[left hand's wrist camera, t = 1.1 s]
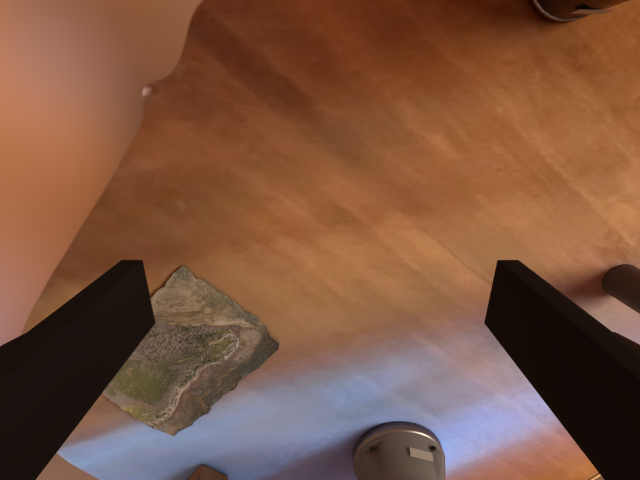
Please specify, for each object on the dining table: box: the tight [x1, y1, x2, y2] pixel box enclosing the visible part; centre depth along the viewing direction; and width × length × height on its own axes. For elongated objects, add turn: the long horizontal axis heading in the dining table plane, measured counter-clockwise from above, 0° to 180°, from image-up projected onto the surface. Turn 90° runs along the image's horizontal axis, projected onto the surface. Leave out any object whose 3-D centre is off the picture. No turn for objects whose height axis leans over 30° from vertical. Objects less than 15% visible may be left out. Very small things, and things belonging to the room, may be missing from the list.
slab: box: [102, 266, 279, 436], centre depth 51 cm, size 28×20×1 cm
